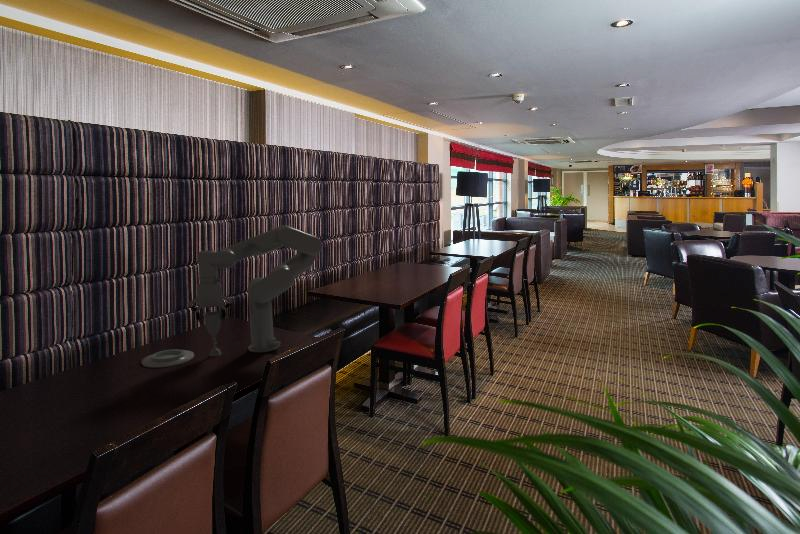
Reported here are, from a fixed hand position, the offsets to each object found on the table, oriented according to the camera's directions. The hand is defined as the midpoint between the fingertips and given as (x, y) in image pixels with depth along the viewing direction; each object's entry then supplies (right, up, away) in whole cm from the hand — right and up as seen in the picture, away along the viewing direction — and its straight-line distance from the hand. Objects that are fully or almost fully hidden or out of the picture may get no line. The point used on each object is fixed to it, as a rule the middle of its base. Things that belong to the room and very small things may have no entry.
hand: (211, 320), depth 213 cm
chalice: (+1, -15, +2) cm, 15 cm away
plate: (-17, -16, -2) cm, 24 cm away
